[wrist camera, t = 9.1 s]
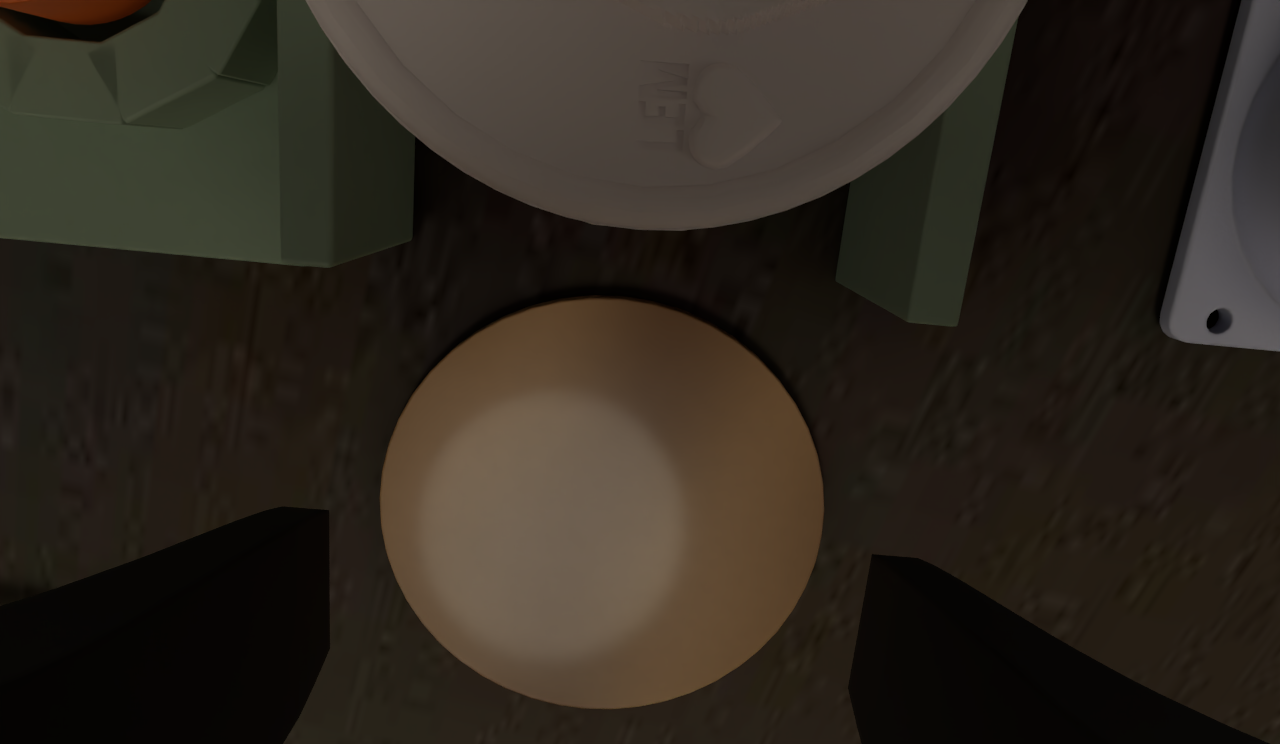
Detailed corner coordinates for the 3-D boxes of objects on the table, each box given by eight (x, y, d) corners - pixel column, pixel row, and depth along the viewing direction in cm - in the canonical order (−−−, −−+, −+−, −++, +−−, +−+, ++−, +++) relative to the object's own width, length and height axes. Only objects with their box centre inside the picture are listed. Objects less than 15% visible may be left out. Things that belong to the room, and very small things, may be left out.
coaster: (852, 317, 17) (857, 320, 16) (787, 714, 19) (791, 725, 19) (388, 273, 16) (382, 276, 16) (381, 682, 19) (375, 693, 18)
